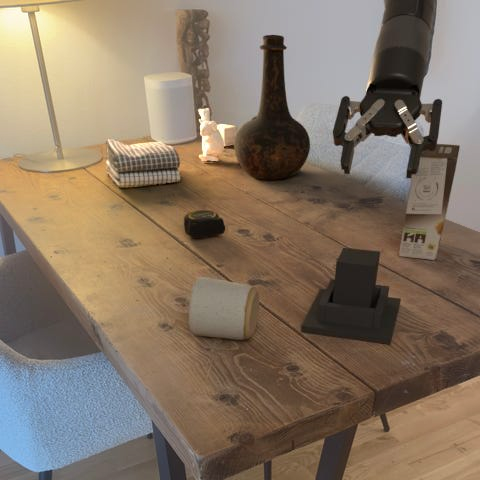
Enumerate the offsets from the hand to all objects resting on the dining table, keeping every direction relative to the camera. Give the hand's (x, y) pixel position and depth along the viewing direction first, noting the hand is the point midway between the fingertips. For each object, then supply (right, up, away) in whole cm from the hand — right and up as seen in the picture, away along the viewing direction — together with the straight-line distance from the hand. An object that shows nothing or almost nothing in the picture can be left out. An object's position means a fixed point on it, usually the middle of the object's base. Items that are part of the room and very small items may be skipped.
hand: (377, 173), depth 78 cm
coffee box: (+12, -4, +21) cm, 25 cm away
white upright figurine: (-27, +35, +70) cm, 83 cm away
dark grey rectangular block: (-3, -19, +1) cm, 19 cm away
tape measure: (-26, +1, +28) cm, 38 cm away
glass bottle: (-11, +26, +59) cm, 65 cm away
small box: (-24, +46, +84) cm, 98 cm away
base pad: (-3, -20, +2) cm, 20 cm away
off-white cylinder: (-21, -22, 0) cm, 30 cm away
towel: (-42, +25, +59) cm, 77 cm away
